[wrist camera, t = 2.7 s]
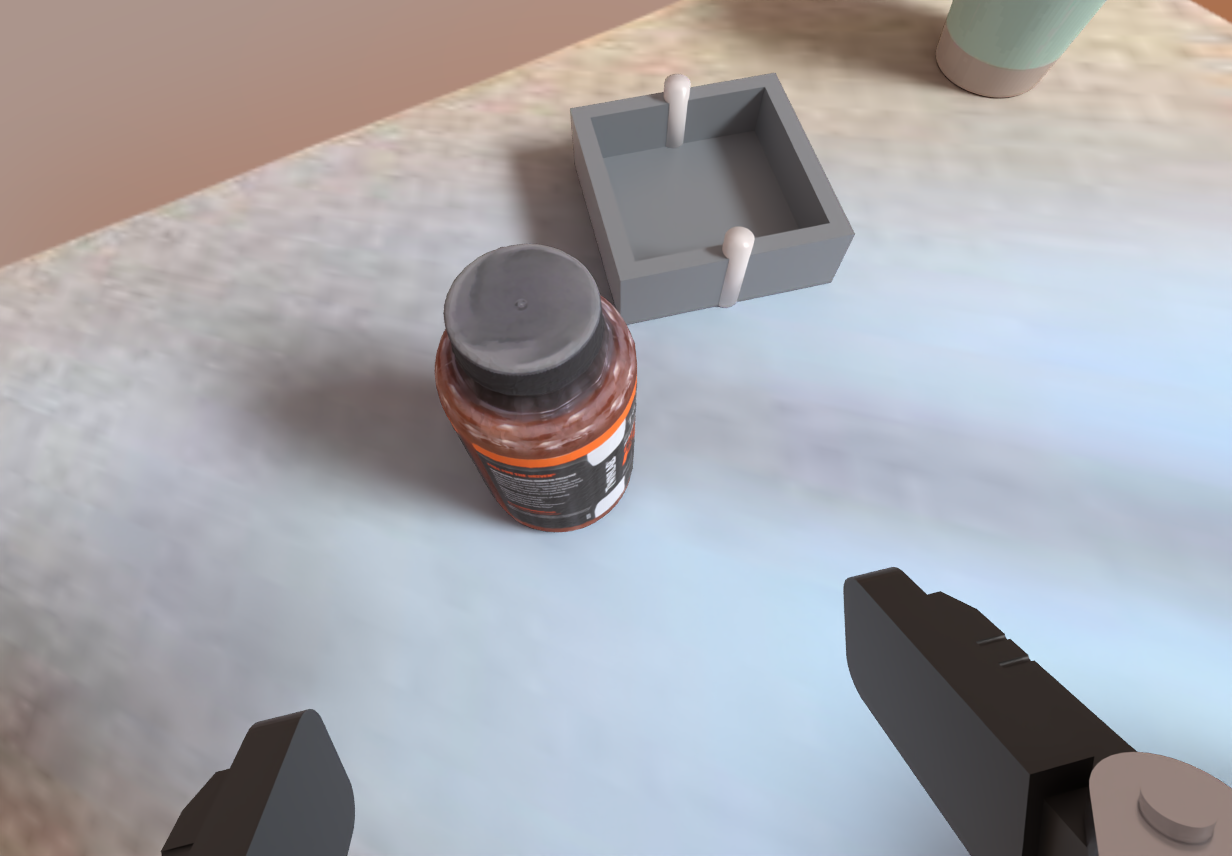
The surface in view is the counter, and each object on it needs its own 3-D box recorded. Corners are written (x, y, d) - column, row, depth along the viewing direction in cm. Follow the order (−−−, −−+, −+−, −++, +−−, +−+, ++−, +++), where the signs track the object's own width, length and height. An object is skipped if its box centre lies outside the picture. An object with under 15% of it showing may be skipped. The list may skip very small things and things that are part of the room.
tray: (621, 329, 29) (621, 274, 25) (573, 161, 33) (568, 92, 29) (832, 285, 30) (862, 226, 26) (760, 127, 34) (777, 56, 30)
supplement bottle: (656, 505, 25) (680, 366, 15) (513, 558, 25) (435, 450, 14) (603, 382, 28) (593, 187, 17) (471, 427, 27) (377, 250, 17)
